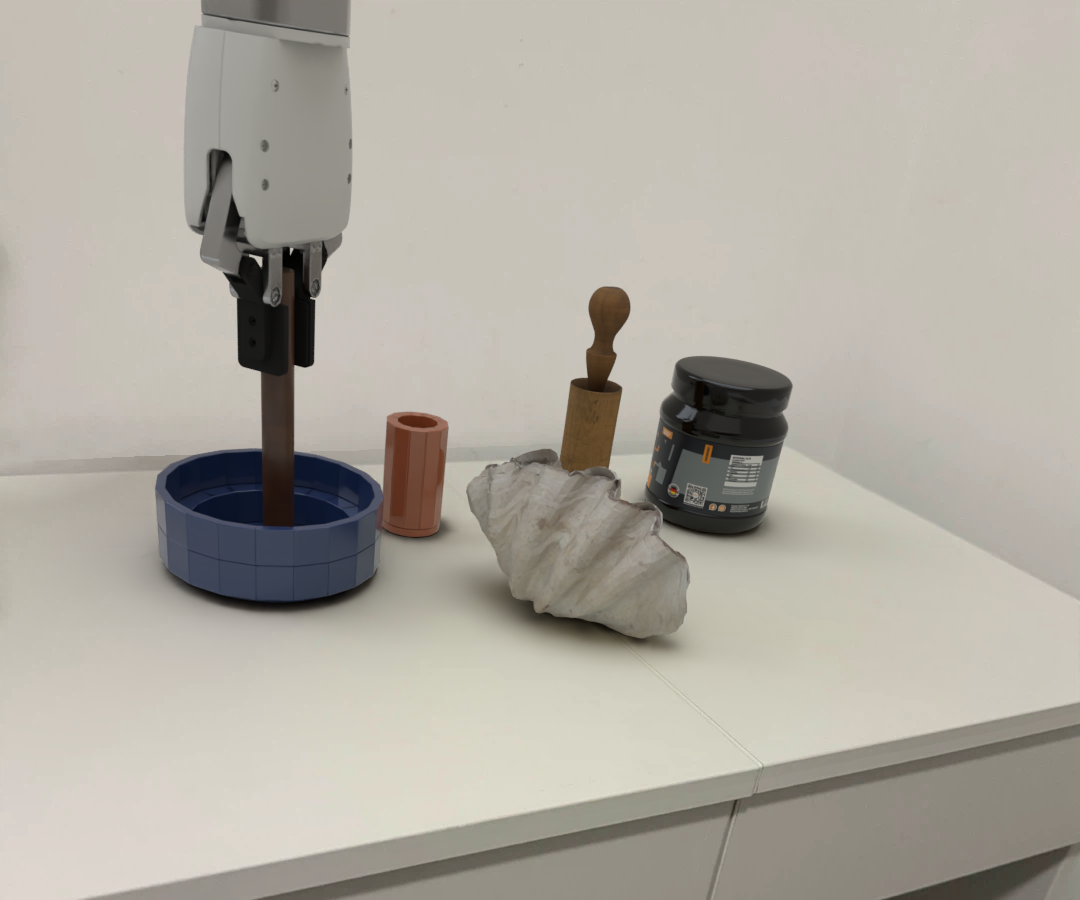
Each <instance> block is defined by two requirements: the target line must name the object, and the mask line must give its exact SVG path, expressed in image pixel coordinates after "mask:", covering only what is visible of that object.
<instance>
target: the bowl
mask: <svg viewBox="0 0 1080 900" xmlns="http://www.w3.org/2000/svg"><path fill="white" fill-rule="evenodd" d="M382 491H383V489H382V485H381V484H380V483H379V482H378V481H376V480H375V479H374V478H373V477H372V476H371V475H370V474H368V473H367V472H366V471H363V470H362V469H360V468H357V467H356V466H353V465H351V464H349V463H347V462H344V461H340V460H337V459H334V458H330V457H326V456H323V455H319V454H315V453H308V452H304V451H303V452H302V451H295V450H294V527H276V526H263V491H262V448H259V447H254V448H253V447H250V448H233V449H231V448H230V449H220V450H219V449H218V450H213V451H208V452H202V453H197V454H192V455H190V456H187V457H185V458H182V459H179V460H176V461H174V462H171V463H170V464H169V465H167V466H166V467H165V468H164V469H162V470H161V471H160V472H159V473H158V474H157V475H156V480H155V486H154V493H155V510H156V511H155V512H156V523H157V525H156V527H157V538H158V539H157V541H158V555H159V558H160V560H161V561H162V563H163V564H164V566H165V568H166V569H167V571H168V572H170V573H171V574H172V575H174V576H176V577H177V578H179V579H181V580H182V581H184V582H185V583H187V584H189V585H191V586H193V587H196V588H199V589H203V590H205V591H208V592H211V593H214V594H217V595H221V596H224V597H228V598H233V599H236V600H243V601H249V602H255V603H256V602H258V603H272V604H273V603H274V604H275V603H278V604H279V603H296V602H297V603H298V602H299V603H300V602H305V601H306V602H307V601H312V600H313V601H314V600H316V599H320V598H325V597H329V596H330V597H331V596H333V595H336V594H340V593H342V592H345V591H350V590H352V589H354V588H357V587H359V586H360V585H362V584H364V582H365V581H367V580H369V579H371V577H373V576H374V574H375V572H376V570H377V569H378V567H379V566H380V563H381V556H382V555H381V553H382V537H383V535H382V534H383V531H382V530H383V526H382V521H383V503H384V497H383V493H382Z"/></svg>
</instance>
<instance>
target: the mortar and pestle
mask: <svg viewBox="0 0 1080 900" xmlns="http://www.w3.org/2000/svg"><path fill="white" fill-rule="evenodd" d="M630 300H631V299H630V297H629V295H628V293H627V292H626V291H625V290H624V289H623V288H621V287H618V286H607V285H606V286H601V287H598V288H597V289H596V290H594V292H593V293H592V294H591V297H590V298H589V301H588V307H587V309H588V315H589V319H590V322H591V325H592V328H593V331H594V338H593V342H592V345H591V346H590V347H588V348H587V349H586V350H585V365H586V366H585V367H586V375H587V376H586V377H577V378H574V379H571V381H570V383H569V391H568V398H567V406H566V413H565V421H564V428H563V433H562V434H563V435H562V442H561V448H560V455H559V459H560V462H561V467H562V469H564V470H568V471H569V473H572V472H573V471H575V470H577V471H584V470H586V469H588V468H591V467H596V466H599V467H606V468H608V469H610V464H611V457H612V450H613V444H614V439H615V435H616V434H615V433H616V428H617V422H618V418H619V417H618V416H619V410H620V406H621V401H622V400H621V399H622V395H623V386H622V385H620V384H619V383H617V382H615V381H612V380H610V379H609V377H610V375H611V373H612V371H613V368H614V366H615V363H616V361H617V357H618V353H617V352H616V351H615V349H614V341H615V338H616V336H617V334H618V333H619V332H620V331H621V329H622V328H623V326H624V325H626V322H627V320H628V319H629V317H630V314H631V301H630Z"/></svg>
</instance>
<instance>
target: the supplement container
mask: <svg viewBox="0 0 1080 900" xmlns="http://www.w3.org/2000/svg"><path fill="white" fill-rule="evenodd" d="M670 387H671V389H672V391H671V392H670V393H669V394H668V395H667V396H665V397H664V398H663V400H662V401H661V403H660V406H659V420H658V425H657V431H656V435H655V439H654V446H653V451H652V455H651V460H650V464H649V470H648V476H647V481H646V483H645V486H644V498H645V502H650V503H652V504H654V505H655V506H657V508H658V509H659V510H660V511H661V512H662V516H663V519H664V520H666V521H668V522H670V523H671V524H675V525H677V526H680V527H683V528H686V529H689V530H693V531H697V532H698V531H699V532H703V533H711V534H723V535H725V534H727V535H728V534H739V533H742V532H743V533H744V532H747V531H749V530H752V529H754V528H755V527H757V526H759V525H760V524H761V523H762V522H763V520H764V518H765V517H766V514H767V510H768V502H769V499H770V496H771V491H772V488H773V483H774V480H775V475H776V473H777V468H778V465H779V460H780V457H781V453H782V449H783V445H784V442H785V439H786V438H787V436H788V433H789V428H790V427H789V423H788V422H789V421H788V419H787V418H786V416H785V414H784V411H786V410H787V408H788V407H789V403H790V400H791V396H792V392H793V389H794V384H793V381H792V380H791V379H790V378H789V377H788V376H787V375H785V374H783V373H782V372H780V371H778V370H775V369H773V368H771V367H767V366H765V365H761V364H758V363H754V362H752V361H746V360H741V359H737V358H731V357H723V356H715V355H714V356H713V355H691V356H685V357H682V358H680V359H678V360H677V361H676V362H675V364H674V367H673V372H672V377H671V383H670Z"/></svg>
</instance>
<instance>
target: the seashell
mask: <svg viewBox="0 0 1080 900" xmlns="http://www.w3.org/2000/svg"><path fill="white" fill-rule="evenodd" d="M465 494H466V498H467V503H468V505H469V509H470V512H471V513H472V515H473V516H474V517H475V518H476V520H477V521H478V524H479V526H480V529H481V531H482V533H483V534H484V536H485V537H486V538H487V540H488V541H489V543H490V545H491V547H492V549H493V550H494V553H495V555H496V561H497V564H498V566H499V568H500V570H501V571H502V572H503V574H504V575H505V576H506V577H507V578H508V587H509V590H510V593H511V596H512V597H513V598H515V599H517V600H520V601H531V602H532V603H533V610H534V611H535V613H536V614H543V613H548V614H550V615H552V616H553V617H555V618H571V619H575V618H576V619H580V620H583V621H586V622H593V623H597V624H601V625H603V626H606V627H607V628H609V629H611V630H613V631H616V632H618V633H620V634H622V635H624V636H627V637H631V638H636V639H642V640H643V639H646V638H650V637H652V636H658V635H660V636H661V635H671V634H674V633H675V632H677V631H678V630H679V628H680V627H681V626H683V624H684V620H685V616H686V615H687V614H688V602H687V590H688V589H689V586H690V584H691V572H690V566H689V563H688V560H687V558H686V557H685V556H684V555H683V554H682V553H681V552H679V551H678V550H675V549H673V548H672V547H671V546H670V545H669V544H668V543H667V542H666V541H664V540H663V538H662V537H660V535H659V534H660V532H661V528H662V526H663V521H664V520H663V519H664V518H663V516H662V512H661V511H660V510H659V509H658V508H657V506H655V505H654V504H652V503H650V502H647V501H638V502H629V501H627V500H624V499H621V495H622V479H621V478H620V477H618V475H617V473H616V471H614V470H612V469H610V468H609V469H608V468H606V467H599V466H596V467H591V468H588V469H586V470H584V471H577V470H575V471H573V472H572V473H569V471H568V470H564V469H562V467H561V462H560V456H559V455H558V452H557V451H555V450H554V449H552V448H541V449H540V448H539V449H536V450H531V451H528V452H525V453H522V454H520V455H518V456H516V457H510V459H509V461H504V462H503V463H502V464H500V463H493V462H492V463H491V462H490V463H488V464H486V466H485V467H484V469H483V470H482V472H481V473H479V475H477V476H474V477H473V478H472V479H471V480H470V481H469V482H468V483H467V487H466V489H465Z"/></svg>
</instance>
